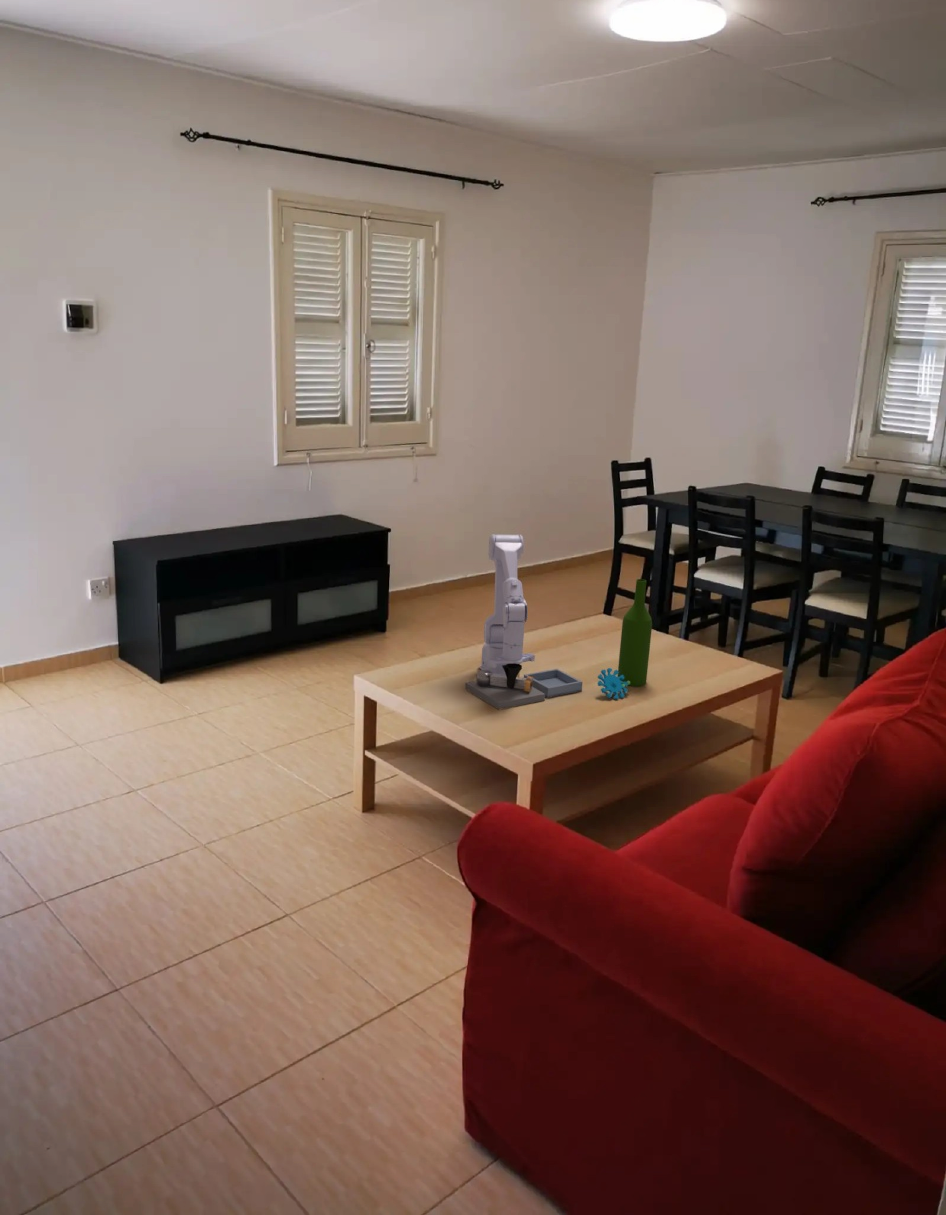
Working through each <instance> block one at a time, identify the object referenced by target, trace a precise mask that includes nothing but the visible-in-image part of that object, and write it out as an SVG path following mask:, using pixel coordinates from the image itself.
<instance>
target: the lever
mask: <svg viewBox="0 0 946 1215" xmlns="http://www.w3.org/2000/svg"><path fill="white" fill-rule="evenodd" d="M476 677H477V678H476V680H477V684H478V685H480V686H490V685H494V686H502V687H507V677H506V675H498V674H492V672H491V671H489V670H482V669H480V670H477V676H476ZM532 686H533V677H530V676H528V677H527V678H524V677H522V676H519V677H516V680H515V686H514V688H518V689H524V691H526V692H530V690H531V688H532Z"/></svg>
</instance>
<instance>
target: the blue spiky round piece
mask: <svg viewBox="0 0 946 1215" xmlns="http://www.w3.org/2000/svg"><path fill="white" fill-rule="evenodd" d="M612 671H613V669H612V668H611V667H608V668H607V669H601V671H600V674H598V676H597V679H599V681H597V686H599V687H601V686H602V688H601V689H600V692H601V693H602V694H603V693H606V692H608V693H607V694H606V697H607V698H608V699H610V698H611V697H612V696H613V694H614V696H613V699H614V700H615V699H617V700H619V699H622V698H625V696H626V695H625V694H626V693H628V691H629V689H627V687H629V686H628V685H629V684H630V681H627V682H622V681H621V680H623V679H624V676H623V675H621V676H620V677H617V676H618V673H619V672H618V669H615V670H614V671H613V672H612ZM611 672H612V673H613V674H612V673H611ZM620 679H621V680H620Z"/></svg>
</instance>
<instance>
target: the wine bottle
mask: <svg viewBox="0 0 946 1215" xmlns="http://www.w3.org/2000/svg"><path fill="white" fill-rule="evenodd" d="M646 587H647V580H646V579H643V578H638V579H636V582H635V589H634V590H635V592H634V600H633V603H632V606H631V607H630V608H629V609H628V610H627V611H626V613H625V614H624V616H623V618H622V621H621V622H622V623H621V624H622V625H621V634H620V644H619V645H620V647H619V654H618V656H619V657H618V666H617V671H618V672H619V673H618V674H617V675H616V676H617V677H620V676H621V675H623V676H624V679H623V680H621V679H620V680H621V681H622V682H627V681H630V684H629V685H628V686H627V687H634V688H635V687H638V688H639V687H643V686H645V685H646V683H647V680H648V678H647V677H648V668H649V661H650V660H649V657H650V648H651V638H652V631H653V630H652V629H653V621H652V616H651V615H650V613H649V611H648V609H647V607H646V605H645V603H646V602H645V601H646Z"/></svg>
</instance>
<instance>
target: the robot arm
mask: <svg viewBox="0 0 946 1215" xmlns="http://www.w3.org/2000/svg"><path fill="white" fill-rule="evenodd" d="M524 543H525V542H524V537H523V535H522V534H521V533H520V534H494V533H492V534H491V535H490V536H489V539H488V559H489V560H491V561H493V562H494V569H495V572H494V574H495V575H494V601H493V603H494V606H493V607H494V608H493V609H494V610H493V611H494V612H493V613H492V614H490V615H489V616H488V617H486V619H485V620H484V628H483V641H484V644H483V646H482V648H481V662H480V663H481V665H479V666H478V668H479V669H480V670H489V671H491V672H492V674H498V675H506V677H507V687H509V688H510V689H512V688H514V686H515V680H516V677H517V675H518V673H519V672H520V673H521V671H522V669H523V665H522V664H523V663H525V662H527V663H528V662H535V661H536V660H535V656H536V655H535V654H534V653H531V652H529V653H523V652H524V638H525V636H524V635H525V623H527V620H528V616H529V614H528V612H529V610H528V604H527V601H526V599H525V598H524V590H523V583H522V581H521V580H519V579H518V560H519V559H521V556H522V554H523V553H524V548H525V544H524Z"/></svg>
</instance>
